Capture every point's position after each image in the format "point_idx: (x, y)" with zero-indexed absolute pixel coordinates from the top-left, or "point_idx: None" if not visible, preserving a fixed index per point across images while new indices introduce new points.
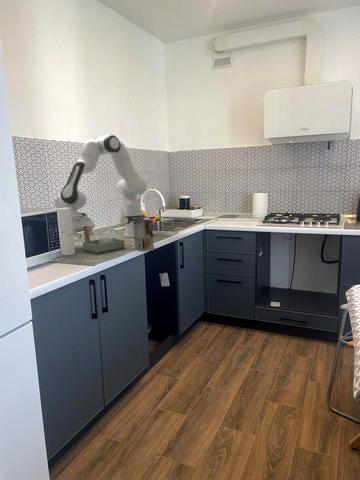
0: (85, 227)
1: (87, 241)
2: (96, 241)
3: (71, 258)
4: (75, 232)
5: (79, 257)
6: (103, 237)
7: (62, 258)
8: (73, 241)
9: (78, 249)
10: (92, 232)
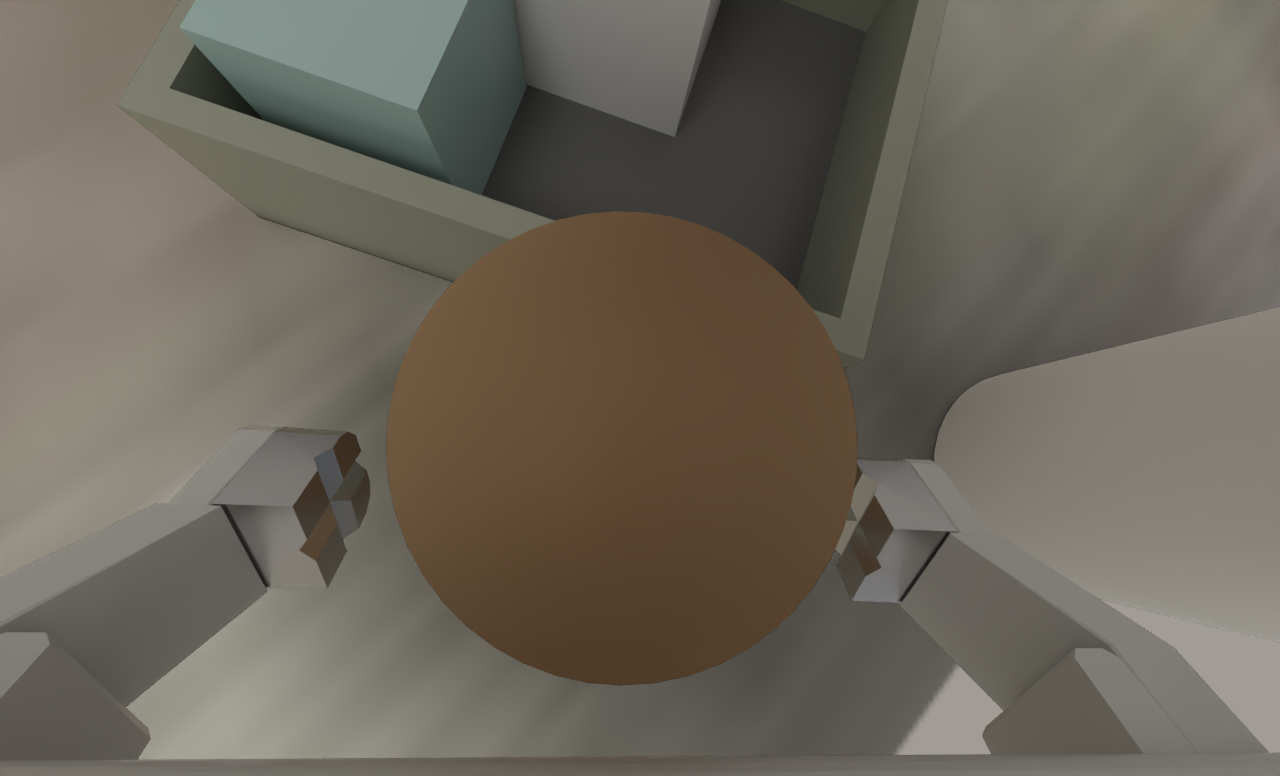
0: (799, 352)
1: None
2: None
3: (1179, 208)
4: (1143, 649)
5: (1096, 148)
6: (369, 91)
7: None
8: (1223, 322)
9: None
10: (266, 454)
